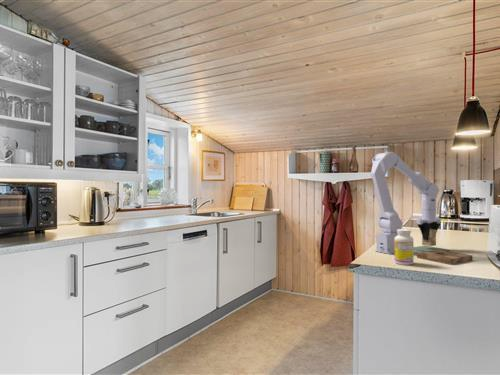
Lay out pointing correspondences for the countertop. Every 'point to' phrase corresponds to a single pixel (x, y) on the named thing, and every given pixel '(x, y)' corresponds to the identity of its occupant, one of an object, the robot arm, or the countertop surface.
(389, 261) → the countertop surface
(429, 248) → the rubber mat
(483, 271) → the countertop surface
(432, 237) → the maple block
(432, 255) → the pocket plate
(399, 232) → the supplement bottle
